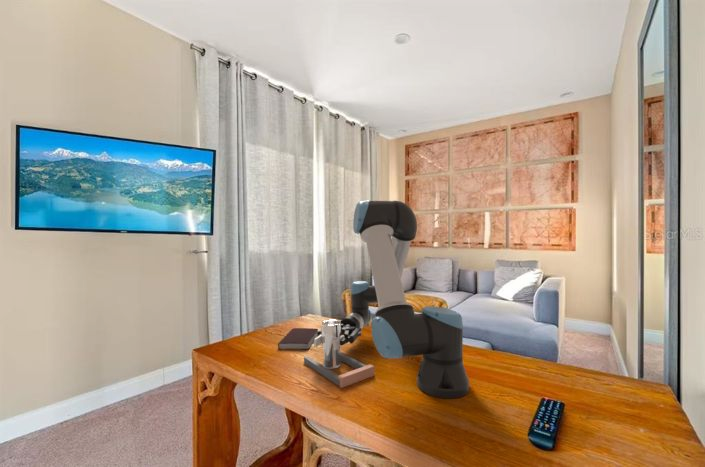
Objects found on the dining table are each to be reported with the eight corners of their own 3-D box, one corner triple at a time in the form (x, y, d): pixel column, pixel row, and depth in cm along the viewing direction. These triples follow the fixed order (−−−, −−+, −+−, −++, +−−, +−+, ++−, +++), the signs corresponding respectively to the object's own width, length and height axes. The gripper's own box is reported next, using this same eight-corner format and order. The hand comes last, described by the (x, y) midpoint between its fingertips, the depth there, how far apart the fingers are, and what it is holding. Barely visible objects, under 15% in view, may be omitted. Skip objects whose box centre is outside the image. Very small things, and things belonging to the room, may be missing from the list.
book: (277, 350, 129) (277, 342, 128) (292, 334, 148) (292, 327, 148) (308, 351, 127) (308, 343, 127) (319, 335, 146) (318, 327, 146)
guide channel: (374, 375, 105) (374, 366, 105) (341, 387, 97) (341, 378, 97) (334, 353, 123) (334, 345, 123) (304, 362, 115) (303, 354, 115)
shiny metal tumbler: (342, 361, 116) (342, 319, 115) (340, 370, 109) (339, 325, 108) (323, 360, 116) (323, 319, 116) (319, 369, 109) (319, 325, 109)
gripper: (374, 337, 125) (351, 360, 104) (329, 331, 133) (299, 351, 112) (374, 317, 125) (351, 336, 104) (329, 313, 133) (299, 330, 111)
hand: (324, 344), depth 108 cm, fingers closed on shiny metal tumbler, 7 cm apart
